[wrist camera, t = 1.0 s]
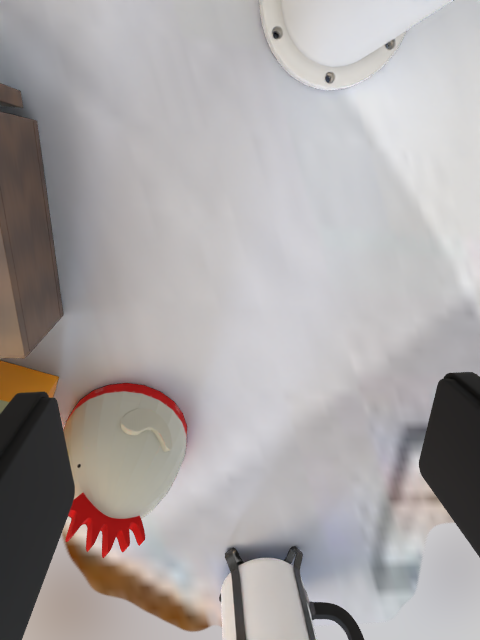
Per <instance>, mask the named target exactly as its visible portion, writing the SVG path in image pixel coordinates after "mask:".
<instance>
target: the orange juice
mask: <svg viewBox="0 0 480 640" xmlns="http://www.w3.org/2000/svg"><path fill="white" fill-rule="evenodd" d="M58 379H59V377H58V376H54V375H51V374H47V373H43V372H40V371H36V370H33V369H29V368H26V367H22V366H19V365H15V364H11V363H8V362H4V361H1V360H0V414H1V412H2V411H3V410H4V408H5V407H6V406H7V405H8V403H9V402H10V401H11V400H12V398H13V397H14V396H15V395H16V394H17V393H25V392H46V393H47V394H48V396H49V398H53V397H54V393H55V390H56V386H57V383H58Z"/></svg>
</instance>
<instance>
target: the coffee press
mask: <svg viewBox="0 0 480 640" xmlns="http://www.w3.org/2000/svg"><path fill="white" fill-rule="evenodd" d="M295 554H296V557H295V561H294V567H293V566H292V565H291V563H292V561H293V559H294V556H295ZM302 557H303V554H302V552H301V551H300V550H299V549H298V548H296V547H291V548H290V550H289V552H288V555H287V557H286V559H285V560H284V561H283V560H280V559H276V558H258V559H253V560H250V561H247V562H245V563H244V562H243V561H242V559H241V558H240V556H239V554H238V552H237V550H236V549H235V548H232V549H230V550H229V551H227V552H226V553H225V558H226V561H227V563H228V566H229V568H230V571H231V572H230V573H229V574H228V576H227V577H226V579H225V580H224V582H223V585H222V589H221V594H220V597H219V600H220V602H221V609H222V631H223V640H317V638H316V633H315V629H314V625H313V621H312V620H314V619H329V620H333V621H335V622H336V623H338V624H339V625H340V626H341V627H342V628H343V629H344V631H345V632H346V634H347V636H348V639H349V640H364V638H363V635H362V633H361V631H360V629H359V627H358V625H357V623H356V622H355V620H354V619H353V618H352V616H351V615H350V614H349V613H348V612H347V611H346V610H344V609H343V608H341V607H339V606H337V605H334V604H331V603H323V602H309V599H308V595H307V592H306V590H305V589H304V585H303V582H302V578H301V576H300V565H301V561H302Z"/></svg>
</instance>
